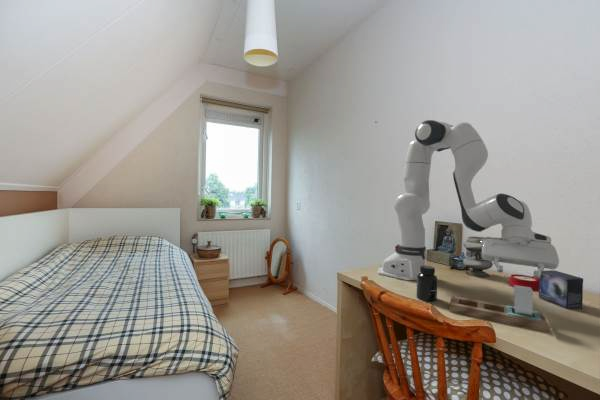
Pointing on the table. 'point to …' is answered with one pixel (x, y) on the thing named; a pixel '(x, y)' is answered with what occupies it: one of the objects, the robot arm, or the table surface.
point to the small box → (561, 289)
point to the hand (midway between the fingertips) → (518, 274)
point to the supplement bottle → (427, 284)
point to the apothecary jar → (475, 257)
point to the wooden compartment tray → (497, 313)
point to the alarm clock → (524, 281)
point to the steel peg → (523, 300)
